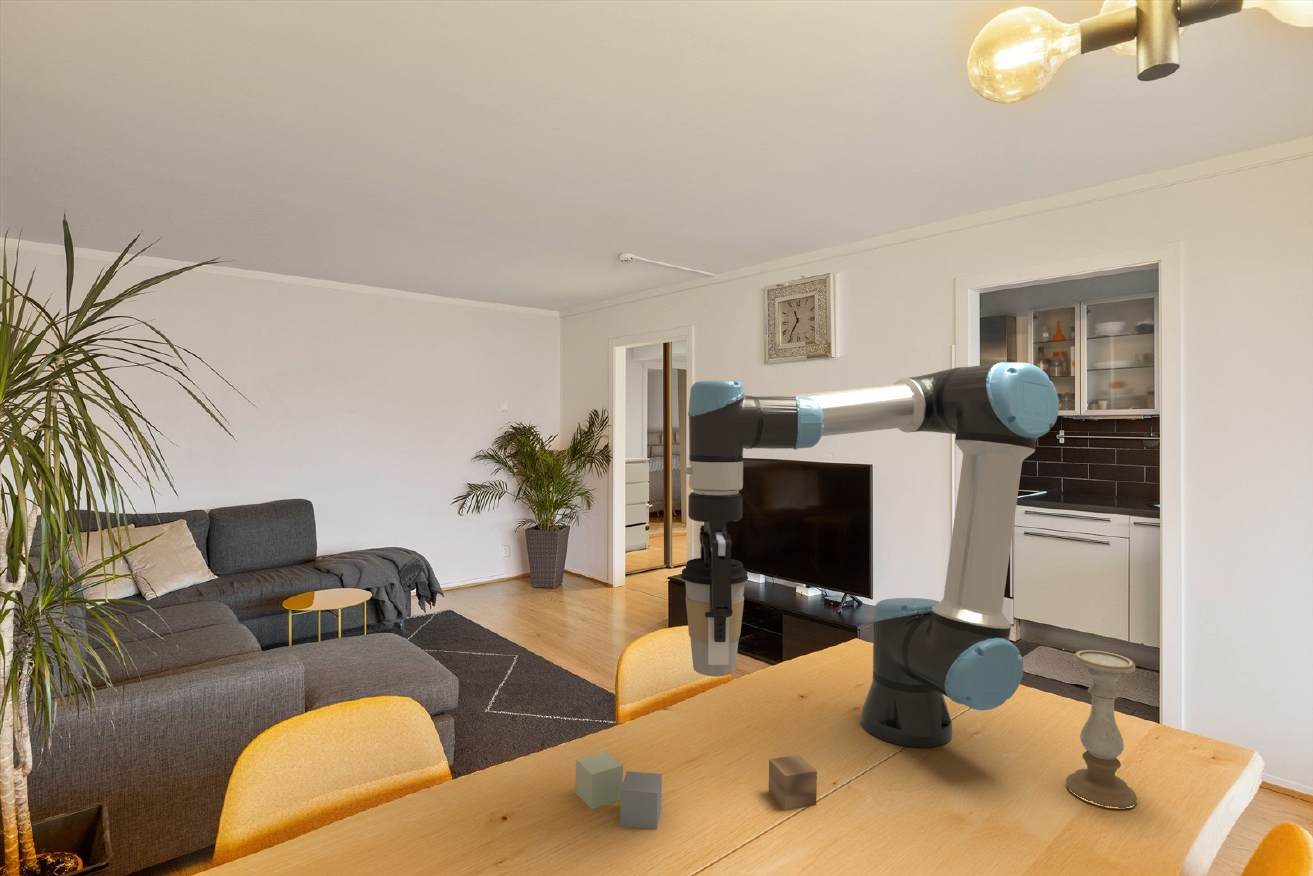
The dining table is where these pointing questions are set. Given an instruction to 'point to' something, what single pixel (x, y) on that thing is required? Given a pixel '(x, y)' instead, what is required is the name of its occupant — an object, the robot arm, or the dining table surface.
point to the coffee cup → (700, 603)
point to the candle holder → (1102, 734)
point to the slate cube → (640, 800)
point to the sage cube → (599, 779)
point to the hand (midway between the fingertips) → (714, 652)
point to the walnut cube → (792, 782)
